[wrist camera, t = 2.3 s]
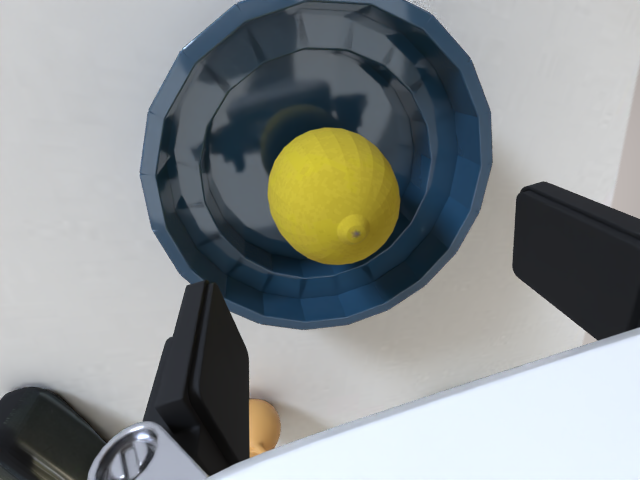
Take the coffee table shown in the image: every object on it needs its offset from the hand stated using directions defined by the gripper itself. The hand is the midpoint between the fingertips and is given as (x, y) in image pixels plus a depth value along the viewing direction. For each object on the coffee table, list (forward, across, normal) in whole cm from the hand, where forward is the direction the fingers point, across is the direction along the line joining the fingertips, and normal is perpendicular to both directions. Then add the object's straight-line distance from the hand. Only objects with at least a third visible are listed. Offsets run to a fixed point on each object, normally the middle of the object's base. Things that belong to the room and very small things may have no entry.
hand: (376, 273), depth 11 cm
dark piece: (+11, +21, +15) cm, 28 cm away
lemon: (+10, 0, -1) cm, 10 cm away
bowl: (+10, 0, -1) cm, 10 cm away
